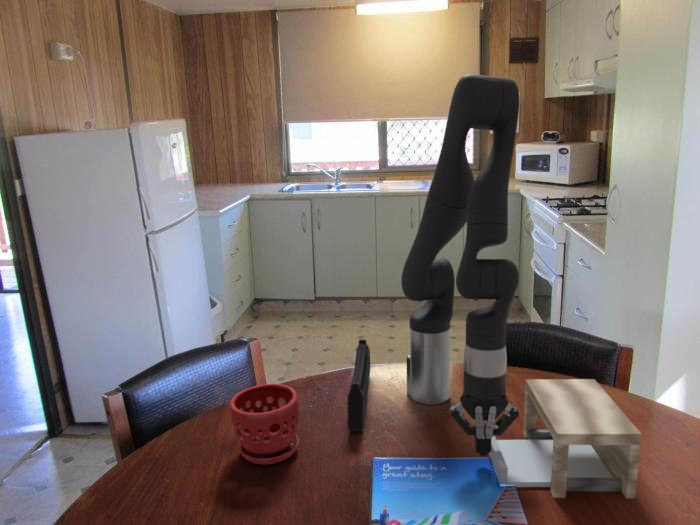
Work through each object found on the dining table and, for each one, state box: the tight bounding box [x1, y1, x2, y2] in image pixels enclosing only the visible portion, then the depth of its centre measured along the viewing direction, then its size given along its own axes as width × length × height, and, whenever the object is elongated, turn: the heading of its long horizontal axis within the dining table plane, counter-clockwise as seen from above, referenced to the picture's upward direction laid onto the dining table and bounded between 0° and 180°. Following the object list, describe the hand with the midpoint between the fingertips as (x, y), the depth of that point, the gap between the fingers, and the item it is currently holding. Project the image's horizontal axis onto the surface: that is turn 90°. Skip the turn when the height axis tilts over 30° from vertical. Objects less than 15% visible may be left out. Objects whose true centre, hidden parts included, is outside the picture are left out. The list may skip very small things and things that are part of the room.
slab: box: [487, 435, 614, 488], centre depth 106 cm, size 20×14×4 cm
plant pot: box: [229, 383, 300, 466], centre depth 112 cm, size 13×13×12 cm
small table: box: [522, 378, 642, 500], centre depth 105 cm, size 14×21×12 cm, turn 177°
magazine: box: [347, 339, 371, 432], centre depth 131 cm, size 17×3×30 cm
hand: (482, 453), depth 107 cm, fingers closed
